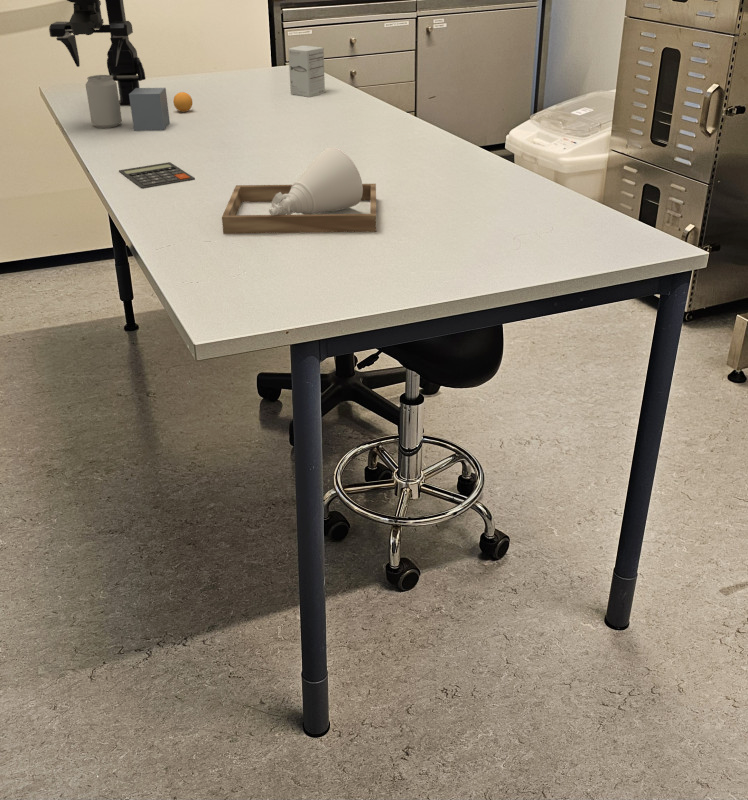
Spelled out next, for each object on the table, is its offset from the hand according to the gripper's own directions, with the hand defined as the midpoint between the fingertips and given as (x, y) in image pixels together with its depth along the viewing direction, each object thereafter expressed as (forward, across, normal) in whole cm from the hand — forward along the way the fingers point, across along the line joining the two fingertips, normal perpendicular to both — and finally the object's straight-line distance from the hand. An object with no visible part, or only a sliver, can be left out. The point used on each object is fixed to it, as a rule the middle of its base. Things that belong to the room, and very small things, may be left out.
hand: (96, 66), depth 226 cm
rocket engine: (+14, +56, -71) cm, 92 cm away
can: (+15, 0, +2) cm, 15 cm away
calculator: (+15, +22, -44) cm, 52 cm away
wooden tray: (+14, +56, -71) cm, 92 cm away
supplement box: (+15, +48, +38) cm, 63 cm away
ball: (+12, +17, +16) cm, 26 cm away
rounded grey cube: (+15, +12, -1) cm, 19 cm away
